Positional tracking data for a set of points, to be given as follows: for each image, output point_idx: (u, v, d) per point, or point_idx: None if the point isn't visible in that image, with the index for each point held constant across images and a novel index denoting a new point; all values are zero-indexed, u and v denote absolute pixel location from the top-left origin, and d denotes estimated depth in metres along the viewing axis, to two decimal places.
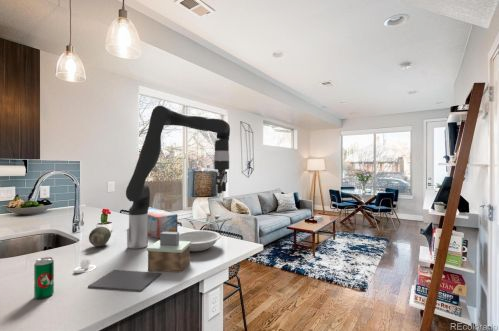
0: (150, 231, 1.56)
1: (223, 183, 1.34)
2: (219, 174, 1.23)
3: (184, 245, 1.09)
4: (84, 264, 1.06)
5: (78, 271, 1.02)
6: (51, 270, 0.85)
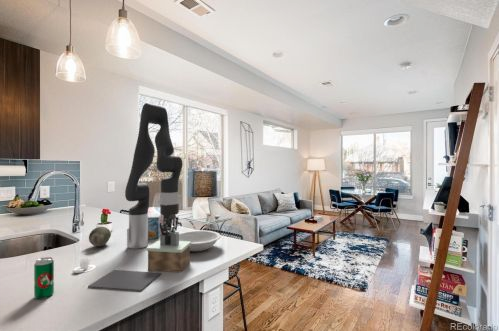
0: None
1: (171, 231, 1.11)
2: (164, 226, 1.03)
3: (184, 245, 1.09)
4: (83, 265, 1.06)
5: (77, 271, 1.02)
6: (51, 270, 0.85)
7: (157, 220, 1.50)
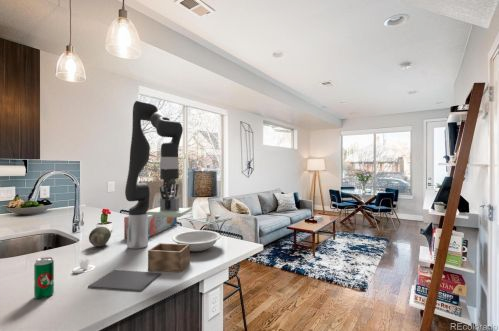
0: None
1: (171, 197, 1.11)
2: (164, 189, 1.03)
3: (184, 210, 1.09)
4: (83, 265, 1.05)
5: (77, 271, 1.02)
6: (51, 270, 0.85)
7: None
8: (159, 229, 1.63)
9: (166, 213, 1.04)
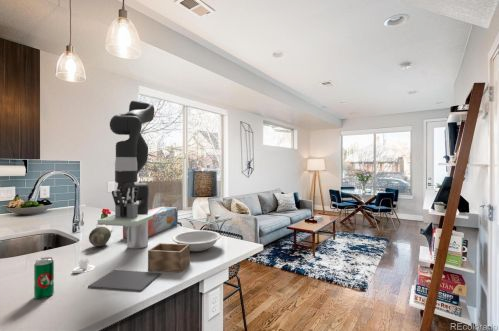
0: None
1: None
2: (117, 194, 0.90)
3: (143, 218, 0.95)
4: (82, 265, 1.05)
5: (76, 271, 1.02)
6: (51, 270, 0.85)
7: None
8: (158, 229, 1.63)
9: (120, 222, 0.91)
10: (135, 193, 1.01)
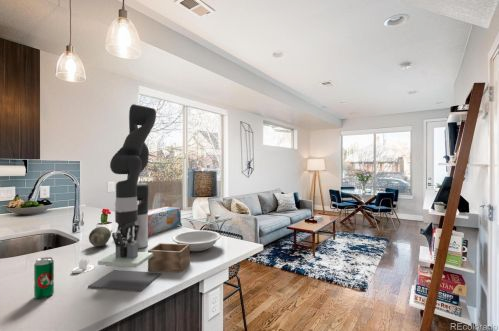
0: None
1: None
2: (117, 237, 0.90)
3: (143, 257, 0.95)
4: (82, 265, 1.05)
5: (76, 271, 1.02)
6: (51, 270, 0.85)
7: None
8: (156, 229, 1.62)
9: (120, 263, 0.91)
10: (135, 231, 1.01)
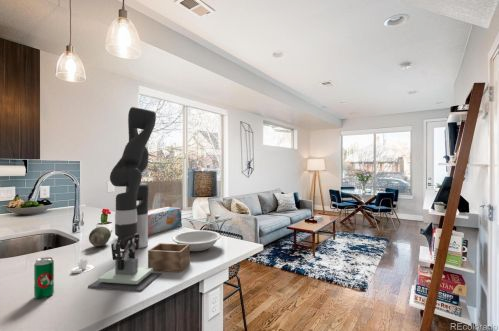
0: None
1: (130, 252, 0.99)
2: (116, 247, 0.89)
3: (143, 274, 0.95)
4: (81, 265, 1.05)
5: (75, 271, 1.02)
6: (51, 270, 0.85)
7: None
8: (155, 230, 1.62)
9: (120, 280, 0.91)
10: (136, 241, 1.01)
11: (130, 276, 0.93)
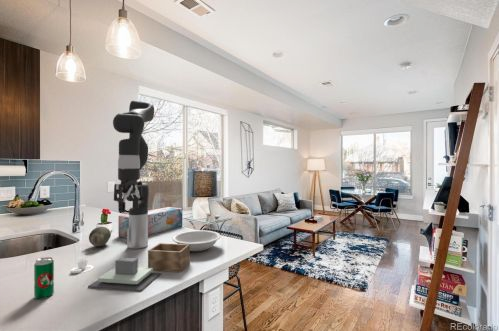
0: None
1: (135, 197, 1.02)
2: (118, 187, 0.91)
3: (143, 274, 0.95)
4: (81, 265, 1.05)
5: (75, 271, 1.02)
6: (51, 270, 0.85)
7: None
8: (155, 230, 1.61)
9: (120, 280, 0.91)
10: (139, 187, 1.03)
11: (130, 276, 0.93)
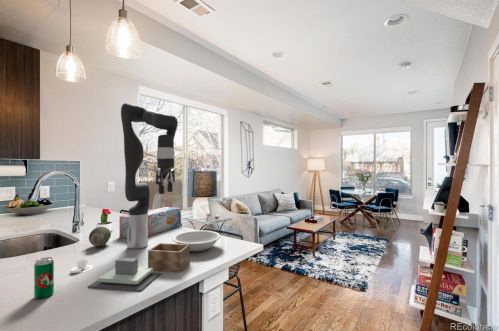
0: None
1: (169, 183, 1.23)
2: (160, 173, 1.12)
3: (143, 274, 0.95)
4: (80, 265, 1.05)
5: (74, 271, 1.02)
6: (51, 270, 0.85)
7: None
8: (156, 230, 1.62)
9: (120, 280, 0.91)
10: (172, 175, 1.25)
11: (130, 276, 0.93)
